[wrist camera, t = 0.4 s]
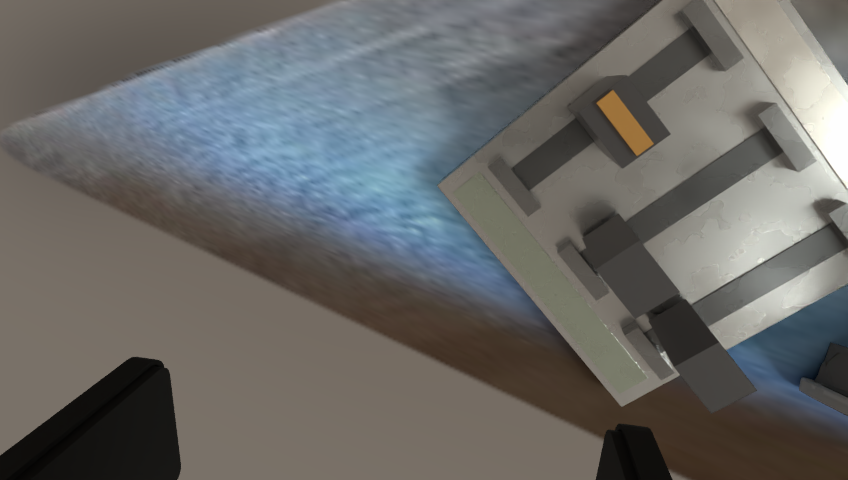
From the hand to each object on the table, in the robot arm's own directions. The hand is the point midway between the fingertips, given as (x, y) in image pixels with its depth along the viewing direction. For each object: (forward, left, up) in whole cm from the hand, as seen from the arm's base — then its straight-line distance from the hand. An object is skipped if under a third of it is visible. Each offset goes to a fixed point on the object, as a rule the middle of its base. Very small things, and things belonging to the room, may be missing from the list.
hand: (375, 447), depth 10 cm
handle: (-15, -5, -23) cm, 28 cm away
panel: (-8, -9, -25) cm, 28 cm away
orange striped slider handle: (-1, -9, -23) cm, 24 cm away
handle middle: (-8, -5, -23) cm, 24 cm away
